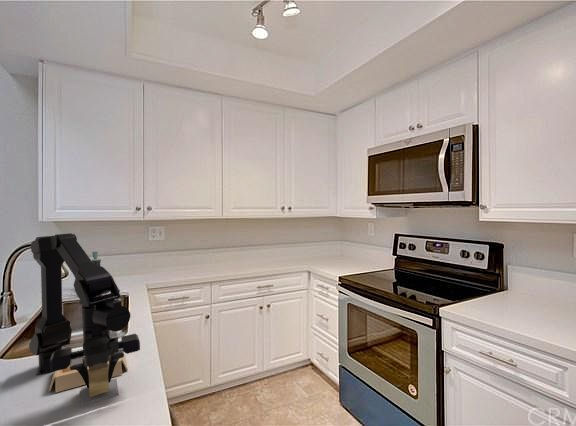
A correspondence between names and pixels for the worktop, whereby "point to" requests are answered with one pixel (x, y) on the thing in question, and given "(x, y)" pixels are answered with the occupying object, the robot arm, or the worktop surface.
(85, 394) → the mat
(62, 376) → the carton
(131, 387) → the worktop surface
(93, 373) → the block
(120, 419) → the worktop surface
